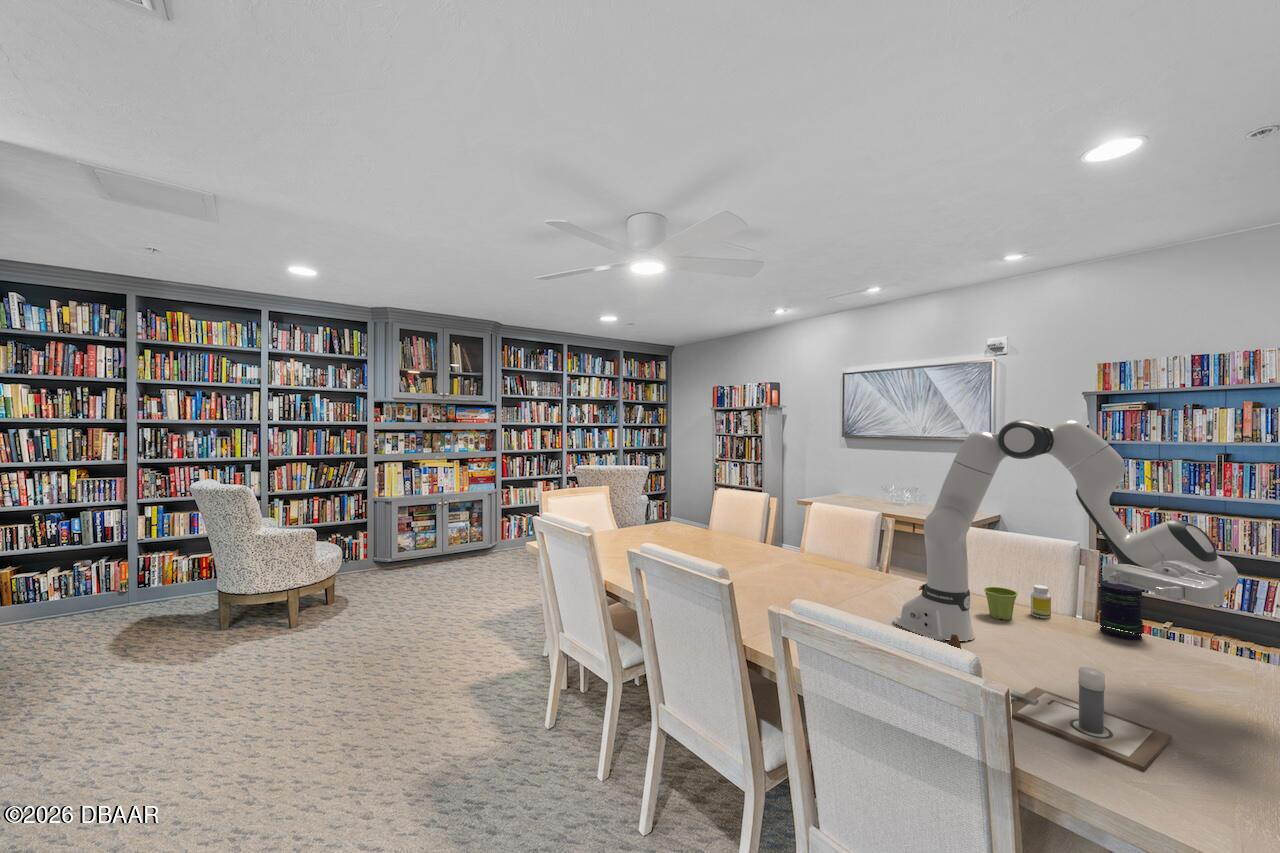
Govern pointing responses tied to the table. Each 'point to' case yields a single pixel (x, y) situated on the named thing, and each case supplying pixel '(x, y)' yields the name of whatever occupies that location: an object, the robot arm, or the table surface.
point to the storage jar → (1121, 611)
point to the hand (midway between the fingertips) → (1133, 585)
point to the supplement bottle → (1040, 602)
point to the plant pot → (1000, 602)
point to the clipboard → (1063, 721)
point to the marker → (1091, 700)
